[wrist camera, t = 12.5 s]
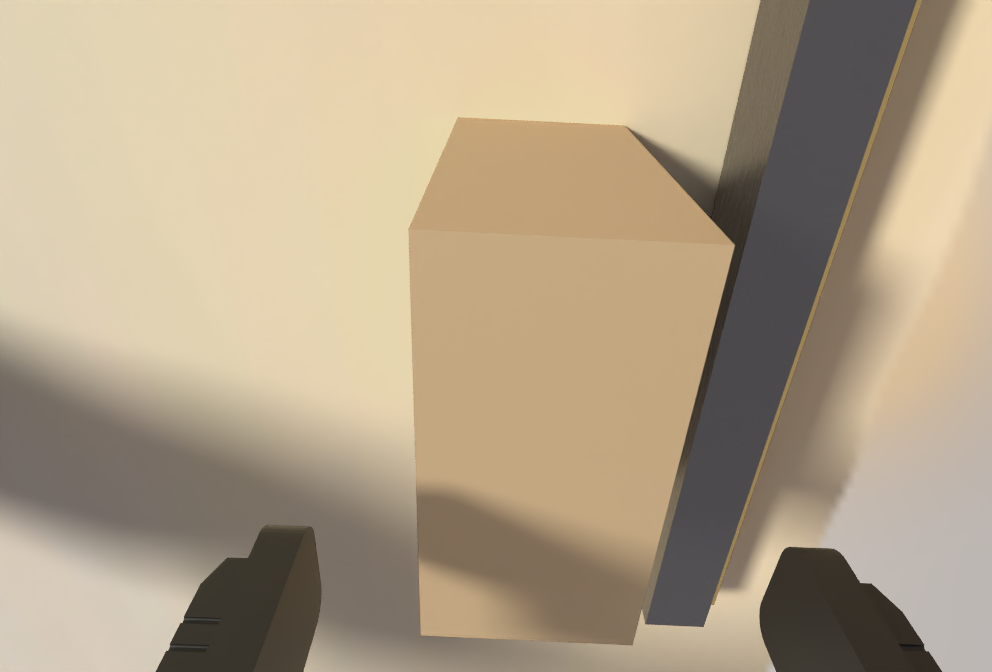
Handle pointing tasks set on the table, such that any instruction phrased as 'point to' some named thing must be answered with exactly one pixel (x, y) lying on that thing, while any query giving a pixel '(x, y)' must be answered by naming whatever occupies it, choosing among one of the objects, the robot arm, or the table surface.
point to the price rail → (772, 262)
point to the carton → (552, 375)
